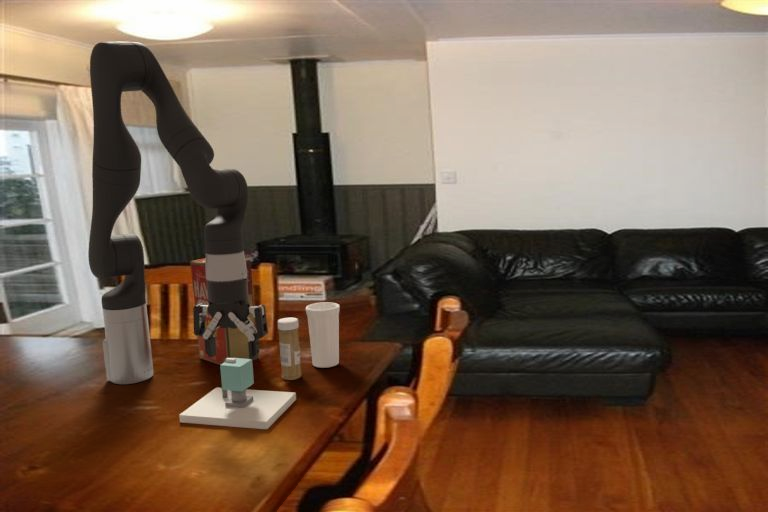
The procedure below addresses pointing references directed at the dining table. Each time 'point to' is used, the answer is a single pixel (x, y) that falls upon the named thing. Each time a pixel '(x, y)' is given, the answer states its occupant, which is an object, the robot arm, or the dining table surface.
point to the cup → (324, 333)
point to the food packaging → (226, 339)
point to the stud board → (239, 408)
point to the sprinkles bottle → (289, 348)
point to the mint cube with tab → (236, 374)
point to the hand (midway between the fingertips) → (232, 357)
